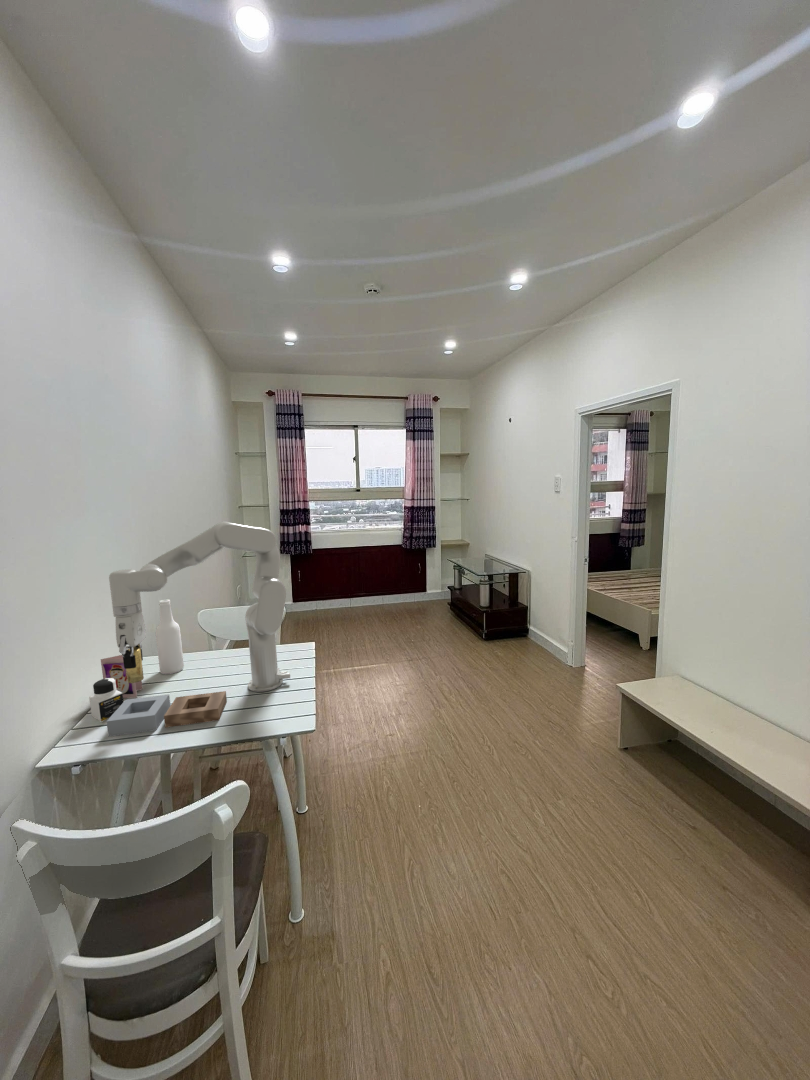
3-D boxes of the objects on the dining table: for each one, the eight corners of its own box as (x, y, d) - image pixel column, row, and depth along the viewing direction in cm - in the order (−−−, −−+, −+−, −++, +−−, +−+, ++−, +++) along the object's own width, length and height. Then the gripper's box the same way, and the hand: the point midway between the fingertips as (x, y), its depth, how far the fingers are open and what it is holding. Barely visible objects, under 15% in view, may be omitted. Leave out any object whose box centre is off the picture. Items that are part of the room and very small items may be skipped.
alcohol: (173, 675, 169) (165, 603, 165) (154, 674, 171) (146, 603, 167) (188, 666, 177) (181, 597, 173) (171, 665, 179) (163, 597, 175)
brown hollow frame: (226, 701, 147) (225, 691, 146) (219, 720, 135) (218, 708, 134) (177, 708, 143) (176, 697, 143) (165, 727, 132) (163, 715, 131)
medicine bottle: (101, 722, 136) (96, 687, 134) (91, 716, 140) (86, 682, 138) (125, 712, 142) (120, 678, 140) (115, 706, 146) (110, 674, 144)
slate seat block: (170, 708, 144) (169, 694, 143) (156, 730, 131) (154, 715, 130) (127, 713, 141) (125, 699, 140) (108, 736, 128) (106, 721, 127)
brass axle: (145, 676, 136) (142, 646, 135) (140, 682, 132) (137, 652, 131) (130, 677, 135) (127, 648, 134) (124, 683, 131) (121, 653, 130)
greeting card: (104, 699, 151) (98, 660, 149) (118, 689, 158) (113, 652, 156) (135, 698, 151) (130, 659, 149) (148, 688, 158) (143, 651, 156)
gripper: (129, 616, 123) (135, 674, 126) (151, 601, 140) (156, 653, 142) (100, 618, 122) (107, 677, 124) (126, 603, 138) (132, 655, 140)
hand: (133, 664), depth 133 cm, fingers closed on brass axle, 4 cm apart
